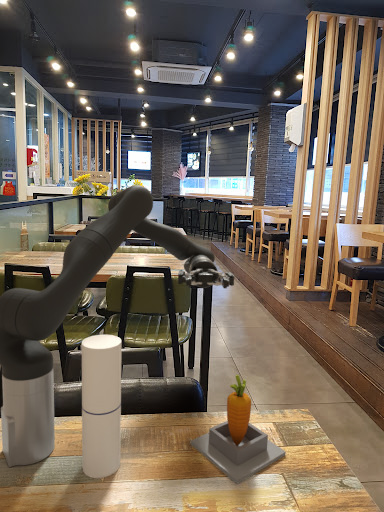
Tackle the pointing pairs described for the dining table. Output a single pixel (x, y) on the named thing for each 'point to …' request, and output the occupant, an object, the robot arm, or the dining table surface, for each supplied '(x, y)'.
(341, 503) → the dining table surface
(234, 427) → the carrot
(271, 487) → the dining table surface
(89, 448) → the cylindrical container
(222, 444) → the sleeve stand
